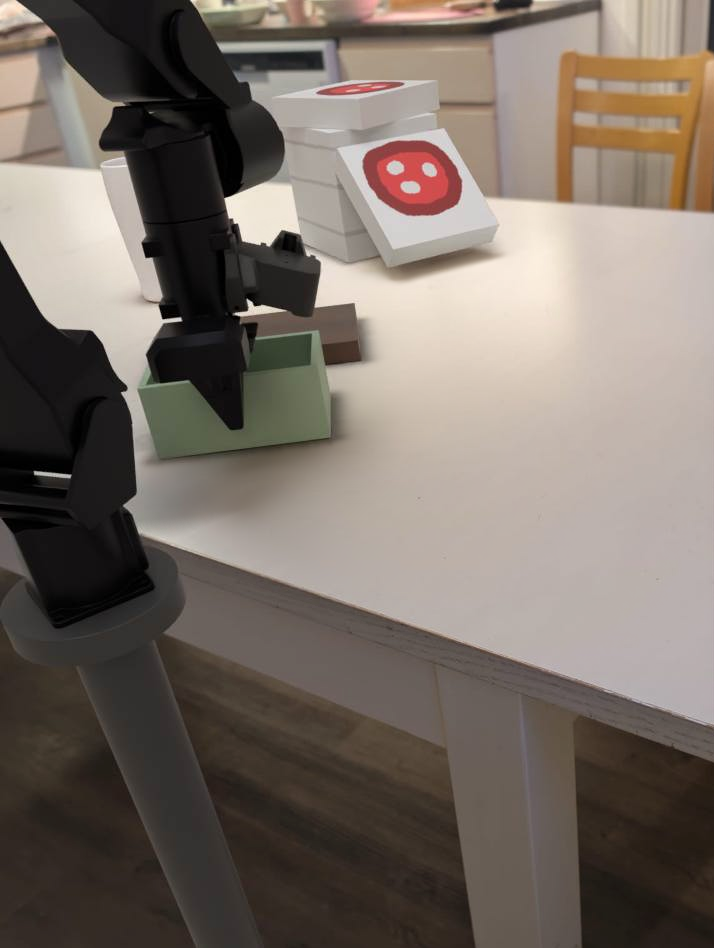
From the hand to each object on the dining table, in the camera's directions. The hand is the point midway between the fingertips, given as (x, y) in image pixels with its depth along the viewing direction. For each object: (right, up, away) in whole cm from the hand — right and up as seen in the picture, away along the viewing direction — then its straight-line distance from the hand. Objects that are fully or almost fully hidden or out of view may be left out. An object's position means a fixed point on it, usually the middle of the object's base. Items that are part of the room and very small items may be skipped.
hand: (237, 428), depth 73 cm
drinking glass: (-19, +25, +41) cm, 52 cm away
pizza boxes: (+8, +35, +51) cm, 63 cm away
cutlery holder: (-1, +2, +7) cm, 7 cm away
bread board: (-3, +13, +22) cm, 25 cm away
